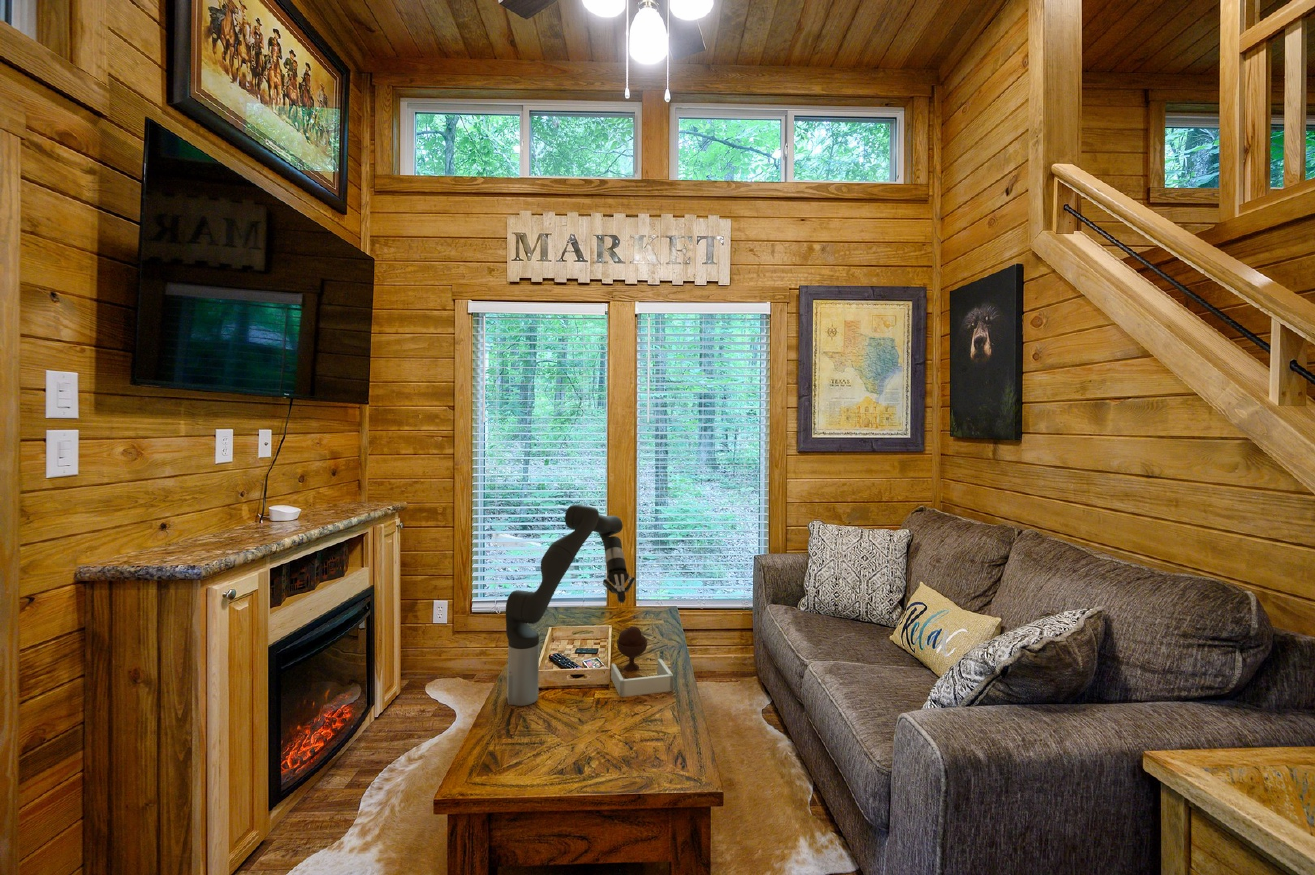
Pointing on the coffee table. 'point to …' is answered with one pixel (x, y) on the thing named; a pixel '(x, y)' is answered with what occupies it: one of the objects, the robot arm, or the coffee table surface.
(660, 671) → the corral
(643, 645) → the ice cream bowl
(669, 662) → the coffee table surface
